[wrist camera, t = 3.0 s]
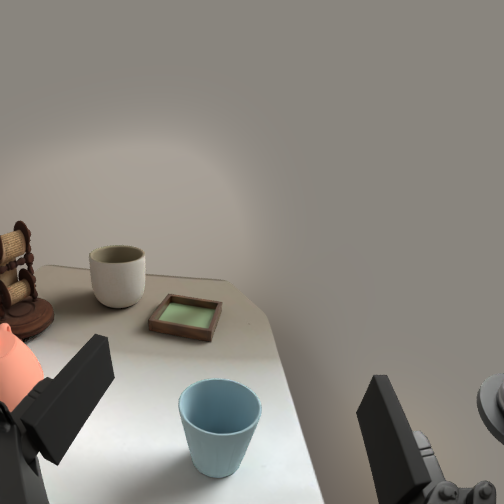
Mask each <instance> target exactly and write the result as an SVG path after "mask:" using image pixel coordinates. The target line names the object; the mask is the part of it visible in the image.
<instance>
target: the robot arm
mask: <svg viewBox="0 0 504 504" xmlns="http://www.w3.org/2000/svg"><path fill="white" fill-rule="evenodd" d="M114 378H115V377H114V372H113V366H112V361H111V355H110V349H109V342H108V337H105V336H101V335H98V334H95V335H94V336H93V337H92V338H91V339H90V340H89V341H88V342H87V343H86V344H85V345H84V346H83V347H82V348H81V349H80V351H79V352H78V353H77V354H76V355H75V356H74V357H73V358H72V359H71V360H70V361H69V362H68V364H67V365H66V366H65V367H64V368H63V369H62V370H61V371H60V372H59V374H58V375H57V376H56V377H55V378H54V379H51V378H49V377H46V378H45V379H43V380H41V381H39V382H38V383H37V384H36V385H35V386H34V387H33V388H32V390H31V391H30V392H29V393H28V395H26V396H25V397H24V398H23V399H22V401H21V402H20V403H19V404H18V405H17V406H16V407H15V409H14V410H13V411H12V412H11V413H10V411H9V409H8V407H7V406H6V405H5V403H3V402H1V401H0V504H49V501H48V498H47V494H46V490H45V487H44V483H43V479H42V474H41V470H40V465H39V460H38V458H37V454H38V452H39V451H40V453H41V454H42V456H43V457H44V458H45V459H46V460H48V461H50V462H52V463H54V464H55V465H57V466H58V465H59V463H60V461H61V460H62V458H63V457H64V455H65V453H66V452H67V450H68V449H69V447H70V445H71V444H72V442H73V441H74V439H75V437H76V436H77V434H78V433H79V431H80V430H81V428H82V427H83V425H84V423H85V422H86V420H87V419H88V417H89V416H90V414H91V413H92V411H93V410H94V408H95V407H96V405H97V404H98V402H99V401H100V399H101V398H102V396H103V395H104V393H105V392H106V390H107V389H108V387H109V386H110V384H111V383H112V381H113V380H114ZM496 402H497V405H498V408H499V410H500V412H501V413H502V415H503V416H504V381H503V382H502V384H501V386H500V387H499V389H498V391H497V393H496ZM356 414H357V418H358V421H359V425H360V429H361V432H362V436H363V440H364V444H365V447H366V451H367V455H368V459H369V463H370V467H371V471H372V476H373V480H374V484H375V488H376V493H377V497H378V502H379V504H496V489H495V487H494V485H493V484H492V483H490V482H488V481H481V482H479V483H478V484H477V485H475V486H474V487H473V488H458V487H457V486H456V485H455V484H454V483H452V482H450V481H446V480H445V478H444V476H443V473H442V470H441V468H440V466H439V464H438V461H437V459H436V456H435V455H434V452H433V449H432V448H431V445H430V443H429V440H428V438H427V437H426V436H425V435H424V434H423V433H422V432H421V431H415V432H412V430H411V427H410V425H409V423H408V420H407V418H406V416H405V413H404V411H403V409H402V407H401V404H400V403H399V400H398V398H397V396H396V394H395V391H394V389H393V387H392V385H391V383H390V380H389V378H388V376H387V375H373V377H372V380H371V382H370V384H369V387H368V389H367V391H366V393H365V395H364V397H363V399H362V402H361V404H360V406H359V408H358V410H357V412H356Z"/></svg>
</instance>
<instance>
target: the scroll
mask: <svg viewBox="0 0 504 504" xmlns="http://www.w3.org/2000/svg"><path fill="white" fill-rule="evenodd" d="M30 236H31V232H30V230H28V228H27V226H26V225H25V223H24V222H22V221H17V222H16V224H15V226H14V231H13V232H10V233H7V234H4V235H1V236H0V324H2V323H7V324H9V326H10V328H11V331H12V334H14V335H15V336H17V337H18V338H19V339H20V340H21V341H22V342H23V338H27V337H31V336H33V335H36V334H38V333H40V332H42V331H43V330H45V329H46V328H47V327H48V326H49V325H50V324H51V323H52V322H53V320H54V311H53V307H52V305H51V304H50V303H49V302H48V301H46V300H44V299H41V298H38V297H37V296H38V293H37V291H36V289H35V287H36V285H35V282H36V278H35V276H33V274H34V270H33V268H32V264H33V263H32V262H33V261H34V256H33V254H32V253H30V252H31V246H30V244H29V243H30ZM25 252H26V254H25V255H24V257H23V258H19V259H18V260H17V261H16V257H18V256H20V255H23V254H24V253H25ZM24 263H26V265H27V266H28V268H27V270H26V269H24V268H23V269H21V270H20V271H19V281H18V277H17V269H16V268H17V266H18V265H24Z"/></svg>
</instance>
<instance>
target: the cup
mask: <svg viewBox="0 0 504 504" xmlns="http://www.w3.org/2000/svg"><path fill="white" fill-rule="evenodd" d="M178 407H179V412H180V416H181V420H182V424H183V427H184V431H185V435H186V439H187V443H188V446H189V450H190V454H191V457H192V461H193V464H194V466H195V467H196V468H197V469H198V471H199V472H201V473H202V474H204V475H207V476H209V477H215V478H222V477H226V476H229V475H231V474H233V473H234V472H235V471H236V470H237V469H238V468H239V466H240V464H241V461H242V459H243V457H244V455H245V452H246V450H247V448H248V445H249V443H250V440H251V438H252V436H253V433H254V431H255V429H256V426H257V424H258V421H259V419H260V416H261V413H262V407H261V402H260V400H259V398H258V397H257V395H256V394H255V393H254V392H253V391H252V390H251V389H250V388H248V387H247V386H245V385H243V384H241V383H238V382H236V381H232V380H228V379H219V378H214V379H205V380H201V381H198V382H195V383H193V384H191V385H190V386H188V387H187V388H186V389H185V390H184V391H183V392H182V394H181V396H180V398H179V403H178Z"/></svg>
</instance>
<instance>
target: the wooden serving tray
mask: <svg viewBox="0 0 504 504" xmlns="http://www.w3.org/2000/svg"><path fill="white" fill-rule="evenodd" d="M221 311H222V302H218V301H212V300H205V299H198V298H192V297H186V296H180V295H174V294H168V295H167V296H166V297H165V299H164V300H163V301H162V303H161V304H160V305H159V307H158V308H157V309H156V310H155V312H154V313H153V314H152V316H151V317H150V318H149V320H148V323H149V330H151V331H156V332H160V333H165V334H170V335H176V336H181V337H186V338H192V339H198V340H204V341H210V342H211V341H212V338H213V335H214V332H215V329H216V326H217V323H218V320H219V317H220V314H221Z"/></svg>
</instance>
